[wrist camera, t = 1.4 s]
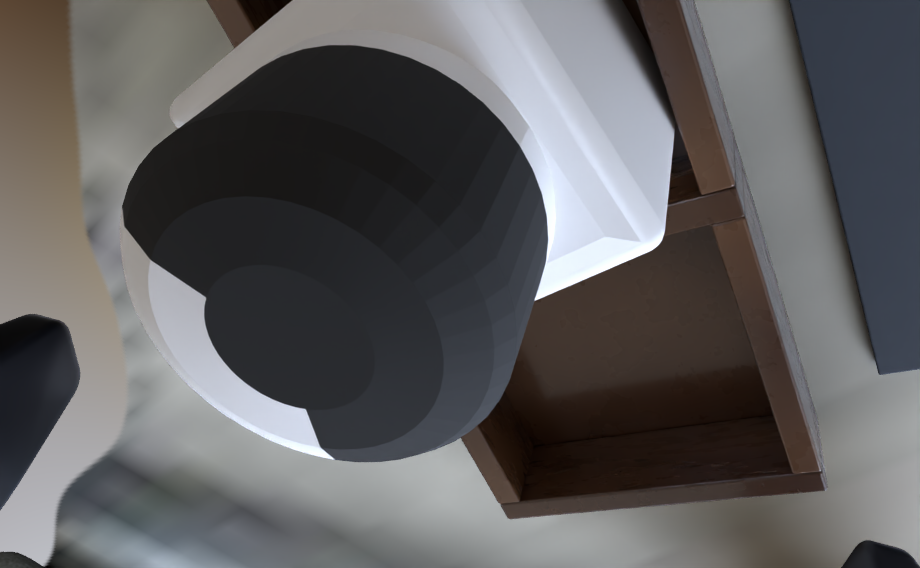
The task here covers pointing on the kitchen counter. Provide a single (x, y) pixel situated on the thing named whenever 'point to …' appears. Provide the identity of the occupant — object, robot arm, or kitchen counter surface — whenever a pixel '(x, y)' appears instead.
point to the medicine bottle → (392, 209)
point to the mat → (872, 153)
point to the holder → (653, 335)
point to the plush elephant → (17, 561)
